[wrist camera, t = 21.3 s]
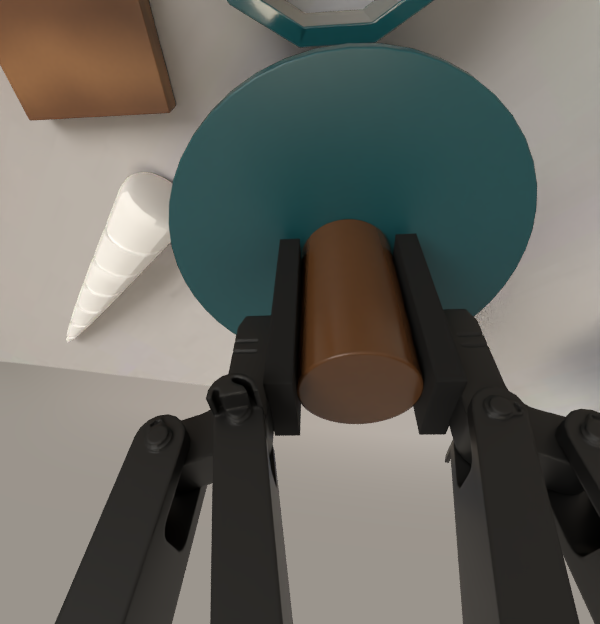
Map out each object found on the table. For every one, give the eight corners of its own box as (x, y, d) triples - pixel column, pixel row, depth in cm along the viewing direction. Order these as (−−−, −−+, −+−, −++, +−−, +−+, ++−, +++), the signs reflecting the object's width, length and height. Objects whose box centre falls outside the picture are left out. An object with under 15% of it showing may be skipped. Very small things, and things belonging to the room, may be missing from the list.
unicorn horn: (32, 320, 38) (5, 357, 35) (143, 156, 26) (118, 187, 23) (78, 342, 41) (57, 378, 37) (200, 200, 28) (185, 234, 25)
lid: (474, 352, 20) (529, 489, 15) (217, 358, 21) (186, 488, 16) (609, 22, 10) (900, 97, 5) (110, 61, 11) (-60, 157, 6)
